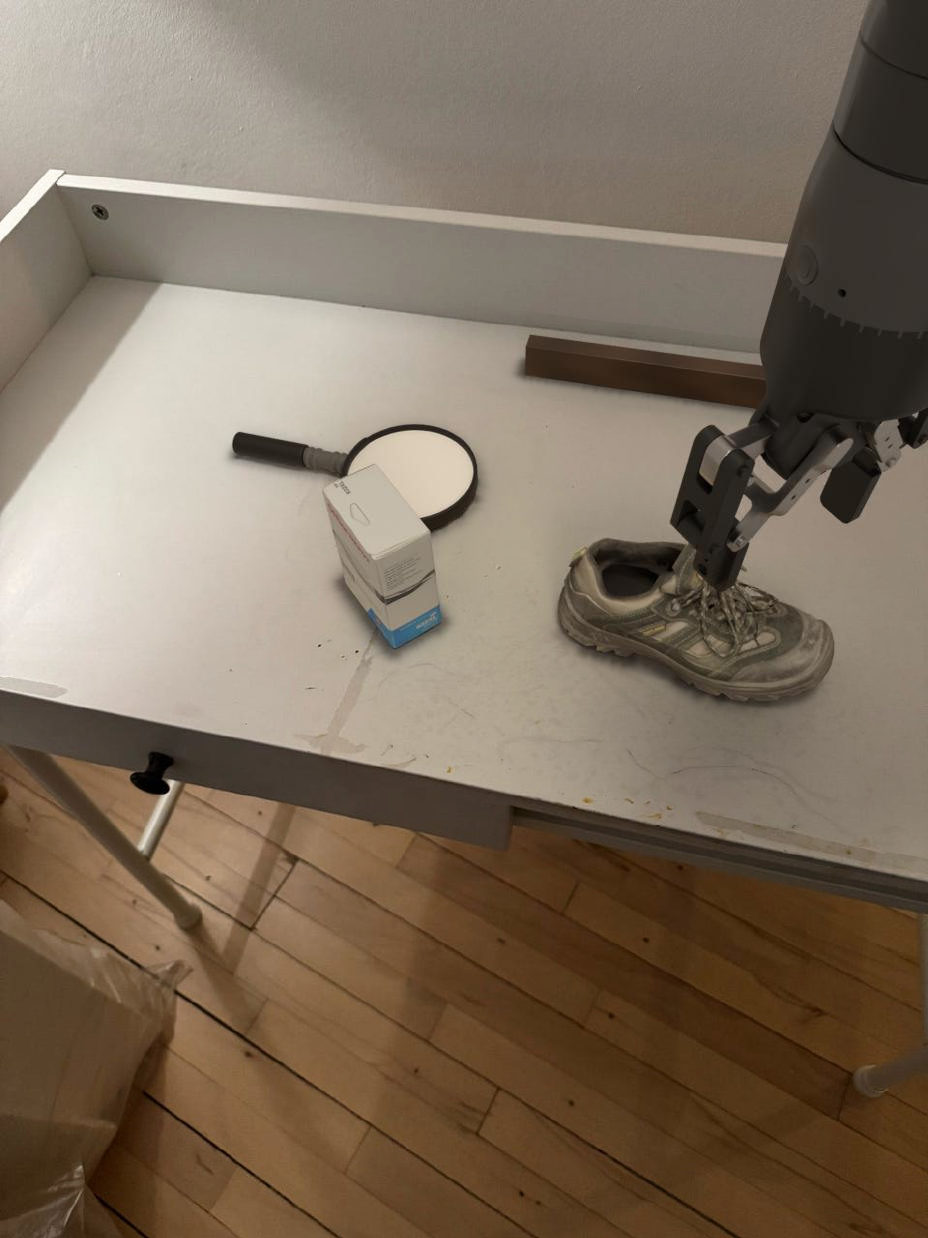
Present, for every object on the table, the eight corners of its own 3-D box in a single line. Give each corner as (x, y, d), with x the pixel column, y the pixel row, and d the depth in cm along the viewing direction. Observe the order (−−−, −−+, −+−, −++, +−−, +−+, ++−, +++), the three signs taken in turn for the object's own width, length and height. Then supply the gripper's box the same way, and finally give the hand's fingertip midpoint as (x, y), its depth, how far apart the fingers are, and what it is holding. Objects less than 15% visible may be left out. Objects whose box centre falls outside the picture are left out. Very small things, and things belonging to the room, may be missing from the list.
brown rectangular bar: (808, 401, 81) (819, 373, 78) (807, 415, 80) (818, 386, 77) (529, 362, 87) (529, 334, 84) (524, 374, 86) (525, 346, 83)
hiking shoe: (824, 732, 59) (864, 576, 54) (539, 674, 65) (551, 528, 60) (822, 674, 67) (857, 532, 61) (568, 627, 73) (581, 495, 68)
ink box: (444, 623, 68) (433, 529, 59) (392, 651, 67) (372, 560, 57) (393, 556, 73) (375, 458, 63) (343, 581, 71) (317, 485, 62)
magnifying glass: (266, 408, 84) (261, 391, 83) (493, 450, 79) (493, 433, 78) (210, 496, 78) (203, 480, 76) (454, 547, 73) (453, 531, 71)
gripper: (820, 388, 27) (718, 655, 40) (1112, 245, 30) (930, 534, 44) (673, 276, 31) (624, 554, 44) (948, 160, 34) (826, 450, 48)
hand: (777, 543), depth 44 cm, fingers open, 8 cm apart
